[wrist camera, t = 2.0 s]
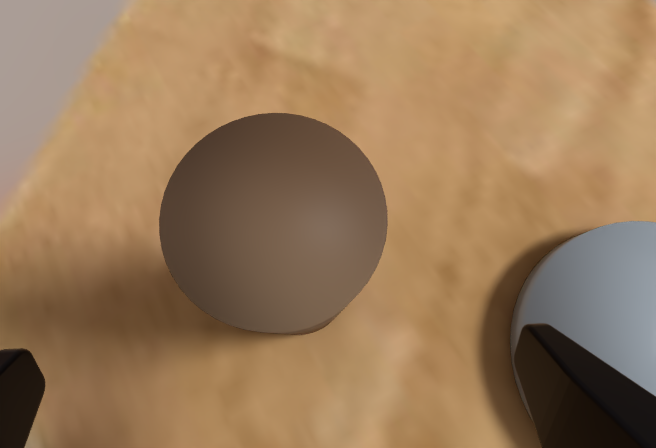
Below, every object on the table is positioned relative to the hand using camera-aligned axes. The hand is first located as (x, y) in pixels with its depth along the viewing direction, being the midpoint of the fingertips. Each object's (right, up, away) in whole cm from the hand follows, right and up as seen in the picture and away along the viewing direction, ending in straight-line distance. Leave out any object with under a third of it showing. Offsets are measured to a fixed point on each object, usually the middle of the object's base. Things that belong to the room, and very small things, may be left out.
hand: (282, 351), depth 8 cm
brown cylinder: (0, 0, +10) cm, 10 cm away
